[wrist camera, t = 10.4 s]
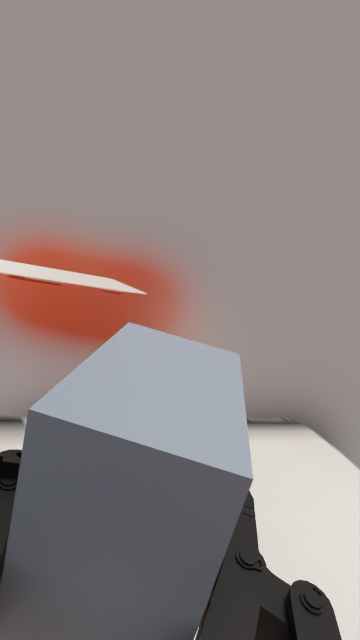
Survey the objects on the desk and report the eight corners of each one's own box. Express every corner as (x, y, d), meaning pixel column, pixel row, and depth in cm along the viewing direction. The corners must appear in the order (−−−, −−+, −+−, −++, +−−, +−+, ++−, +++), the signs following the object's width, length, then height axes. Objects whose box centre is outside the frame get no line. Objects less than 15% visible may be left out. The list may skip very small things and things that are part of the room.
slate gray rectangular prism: (-26, 749, 11) (28, 408, 8) (81, 533, 18) (129, 322, 15) (130, 809, 10) (253, 479, 7) (171, 563, 18) (239, 354, 15)
